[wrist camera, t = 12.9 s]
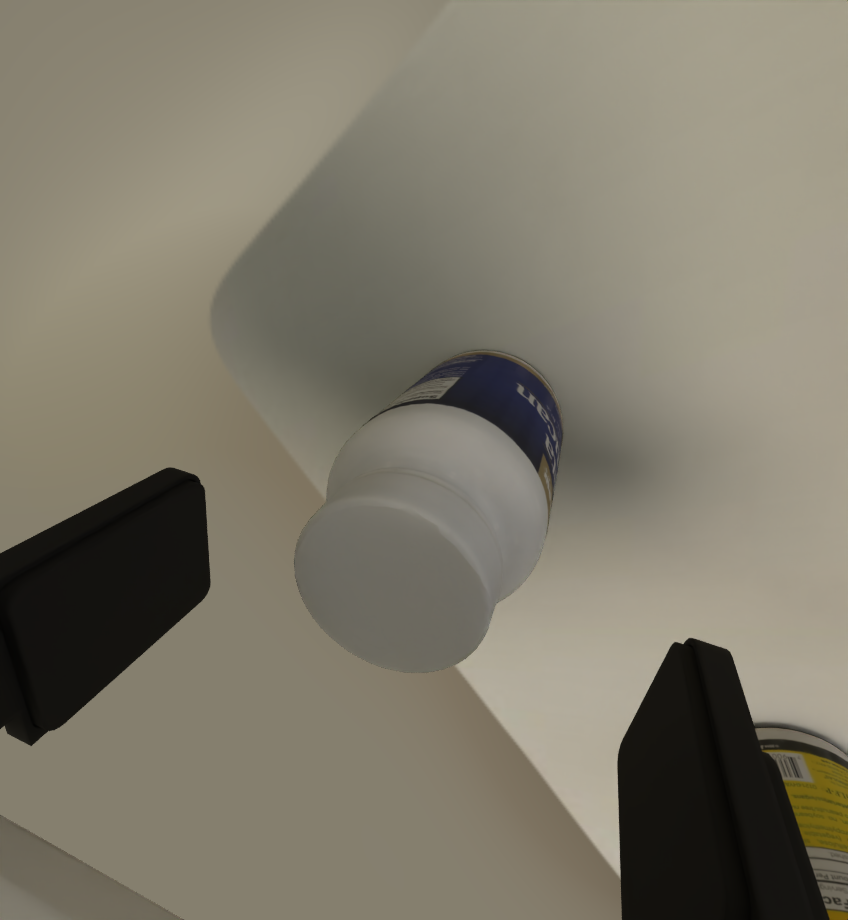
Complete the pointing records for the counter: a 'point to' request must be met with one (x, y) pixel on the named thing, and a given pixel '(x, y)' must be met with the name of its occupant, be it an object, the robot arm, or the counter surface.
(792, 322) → the counter surface
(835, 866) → the supplement bottle
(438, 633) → the pill bottle
